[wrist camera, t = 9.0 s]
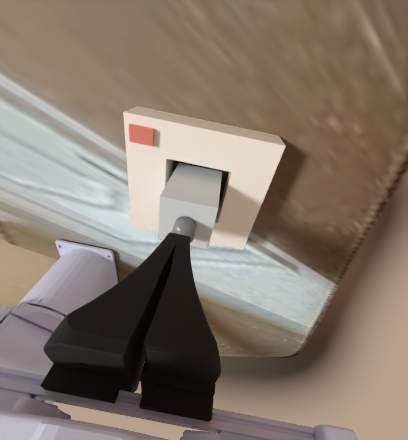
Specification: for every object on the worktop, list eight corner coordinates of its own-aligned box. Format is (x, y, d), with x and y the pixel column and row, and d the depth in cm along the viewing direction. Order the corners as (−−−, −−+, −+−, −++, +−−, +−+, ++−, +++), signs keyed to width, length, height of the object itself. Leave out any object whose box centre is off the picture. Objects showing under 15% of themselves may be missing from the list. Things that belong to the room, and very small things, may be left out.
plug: (214, 202, 22) (206, 260, 15) (177, 194, 22) (153, 249, 15) (222, 167, 19) (217, 218, 13) (181, 158, 19) (154, 205, 13)
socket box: (242, 232, 24) (243, 252, 21) (141, 212, 23) (129, 229, 21) (278, 135, 17) (286, 147, 14) (138, 105, 17) (120, 112, 14)
